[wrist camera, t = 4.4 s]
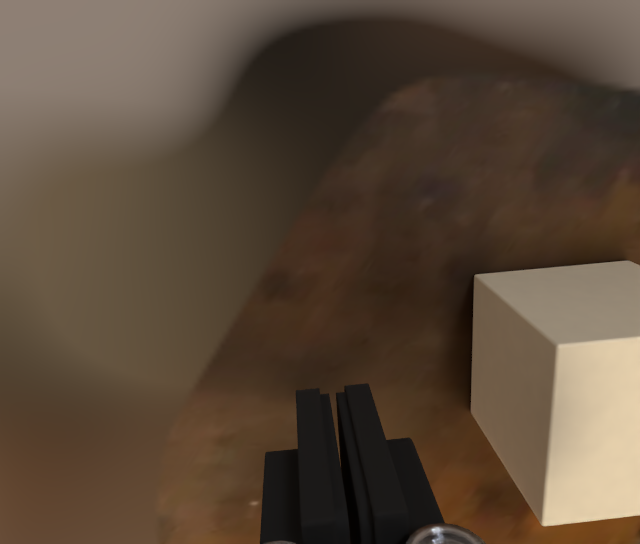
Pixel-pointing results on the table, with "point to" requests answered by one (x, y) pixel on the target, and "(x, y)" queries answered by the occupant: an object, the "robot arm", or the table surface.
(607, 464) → the block
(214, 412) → the table surface
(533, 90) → the table surface
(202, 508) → the table surface
